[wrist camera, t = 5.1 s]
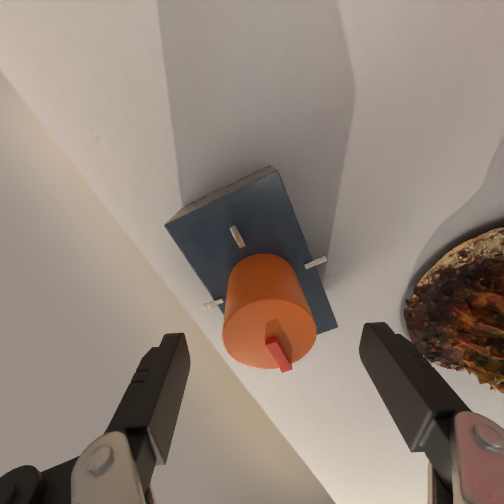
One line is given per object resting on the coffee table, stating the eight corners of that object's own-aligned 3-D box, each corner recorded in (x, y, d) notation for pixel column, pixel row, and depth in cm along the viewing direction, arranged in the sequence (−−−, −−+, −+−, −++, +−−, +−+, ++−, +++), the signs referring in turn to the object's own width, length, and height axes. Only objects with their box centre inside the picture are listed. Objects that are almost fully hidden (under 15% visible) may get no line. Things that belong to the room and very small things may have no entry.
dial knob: (216, 269, 14) (202, 325, 9) (281, 241, 13) (300, 287, 9) (246, 318, 15) (247, 385, 11) (305, 296, 15) (330, 357, 10)
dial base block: (172, 212, 16) (150, 231, 12) (280, 159, 15) (292, 163, 11) (243, 324, 21) (243, 362, 17) (329, 291, 20) (350, 325, 16)
